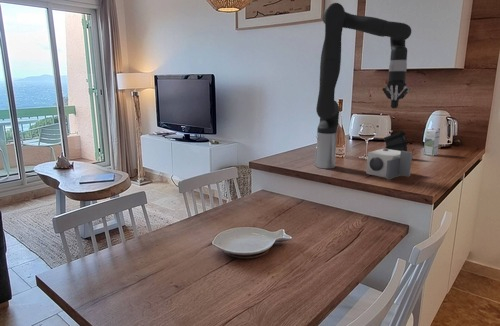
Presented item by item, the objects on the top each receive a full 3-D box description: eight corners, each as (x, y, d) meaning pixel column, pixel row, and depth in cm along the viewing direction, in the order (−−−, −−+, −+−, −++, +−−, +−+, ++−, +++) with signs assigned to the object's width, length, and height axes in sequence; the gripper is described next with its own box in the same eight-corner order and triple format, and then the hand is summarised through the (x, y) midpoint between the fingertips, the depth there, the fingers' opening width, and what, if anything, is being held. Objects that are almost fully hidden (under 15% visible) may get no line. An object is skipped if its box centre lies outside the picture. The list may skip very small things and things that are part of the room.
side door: (385, 178, 147) (387, 153, 144) (397, 174, 153) (399, 150, 150) (398, 181, 142) (400, 155, 140) (409, 177, 149) (412, 152, 146)
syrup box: (437, 155, 199) (440, 129, 195) (432, 156, 195) (435, 130, 192) (427, 153, 203) (430, 128, 200) (422, 154, 200) (425, 129, 196)
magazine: (409, 157, 184) (400, 131, 186) (388, 164, 194) (380, 139, 197) (413, 157, 186) (404, 130, 188) (392, 163, 197) (384, 138, 199)
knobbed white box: (364, 174, 159) (366, 150, 156) (382, 168, 168) (383, 146, 166) (389, 179, 149) (391, 154, 147) (406, 173, 159) (408, 150, 157)
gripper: (380, 70, 163) (377, 108, 167) (407, 69, 153) (404, 109, 157) (388, 71, 167) (385, 107, 171) (415, 70, 157) (411, 108, 161)
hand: (394, 108), depth 164 cm, fingers closed
